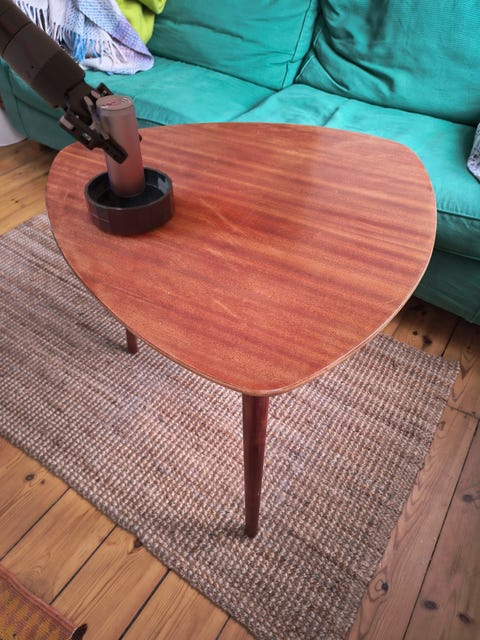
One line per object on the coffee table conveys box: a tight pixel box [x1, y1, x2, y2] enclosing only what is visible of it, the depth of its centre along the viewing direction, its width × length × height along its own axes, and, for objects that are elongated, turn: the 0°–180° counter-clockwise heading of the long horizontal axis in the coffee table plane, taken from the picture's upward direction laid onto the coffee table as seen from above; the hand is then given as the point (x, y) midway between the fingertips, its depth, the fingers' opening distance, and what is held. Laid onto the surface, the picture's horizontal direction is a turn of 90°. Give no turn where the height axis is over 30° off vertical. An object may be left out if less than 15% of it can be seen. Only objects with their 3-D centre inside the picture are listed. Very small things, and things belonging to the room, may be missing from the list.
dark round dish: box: [83, 166, 176, 236], centre depth 84 cm, size 15×15×6 cm
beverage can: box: [96, 94, 146, 197], centre depth 77 cm, size 6×6×15 cm
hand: (131, 151), depth 77 cm, fingers closed on beverage can, 6 cm apart
